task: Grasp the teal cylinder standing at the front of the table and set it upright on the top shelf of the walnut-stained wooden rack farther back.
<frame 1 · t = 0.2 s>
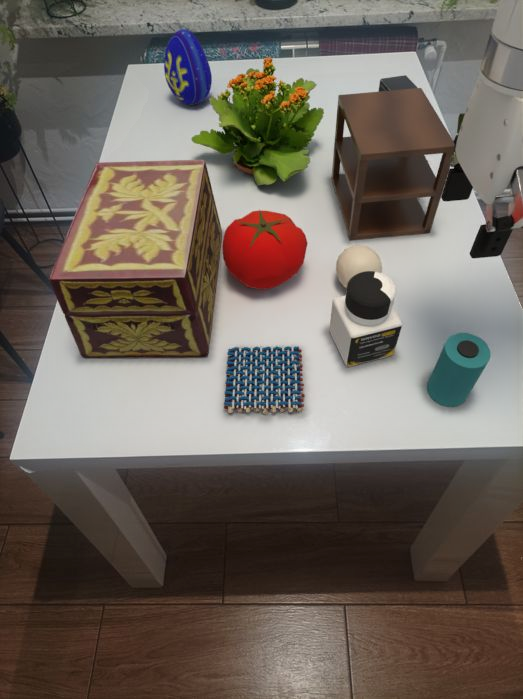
hand: (468, 225, 53), 20 cm above the table, tool pointing down, fingers open, 9 cm apart
medicine bottle: (360, 343, 68), on the table
woven mat: (265, 382, 65), on the table
teal cylinder: (446, 389, 63), on the table
ornament: (193, 102, 113), on the table
box: (391, 137, 100), on the table
potted flower: (256, 160, 97), on the table
rack: (377, 204, 87), on the table
decorative box: (159, 289, 77), on the table
cream round ball: (355, 283, 75), on the table
tomato: (265, 273, 78), on the table
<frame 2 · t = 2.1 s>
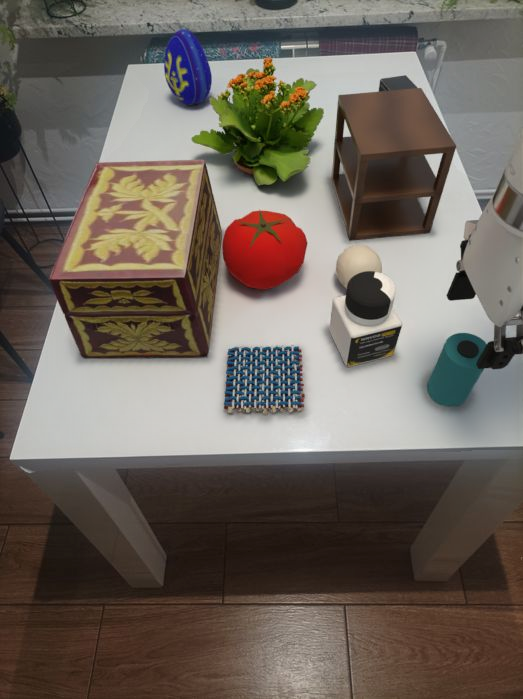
hand: (474, 329, 53), 13 cm above the table, tool pointing down, fingers open, 9 cm apart
nothing on the table moved.
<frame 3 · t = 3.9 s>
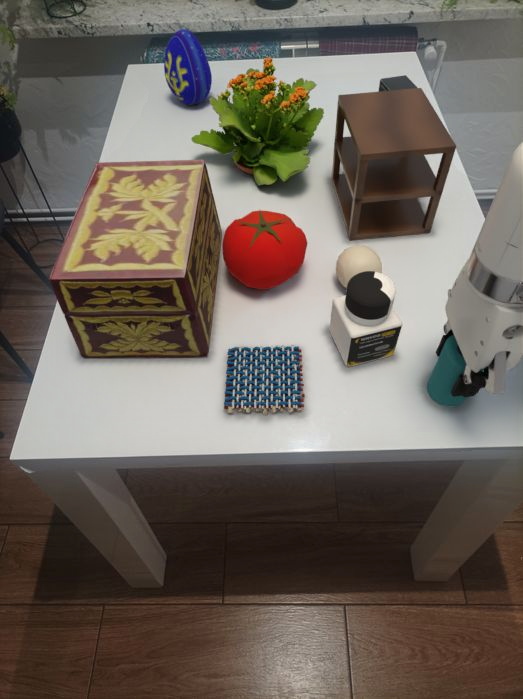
hand: (455, 372, 60), 4 cm above the table, tool pointing down, fingers closed on teal cylinder, 5 cm apart
teal cylinder: (446, 389, 63), on the table, touching gripper
everything else where it was.
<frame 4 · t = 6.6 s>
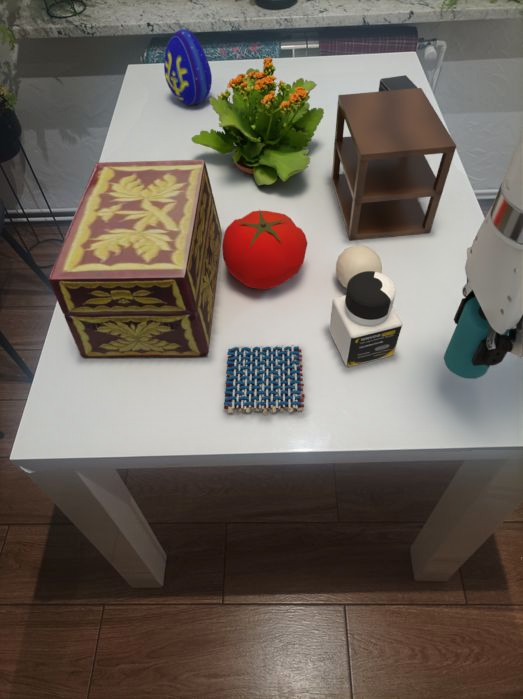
hand: (476, 340, 54), 11 cm above the table, tool pointing down, fingers closed on teal cylinder, 5 cm apart
teal cylinder: (466, 361, 58), point 7 cm above the table, touching gripper
everything else where it was.
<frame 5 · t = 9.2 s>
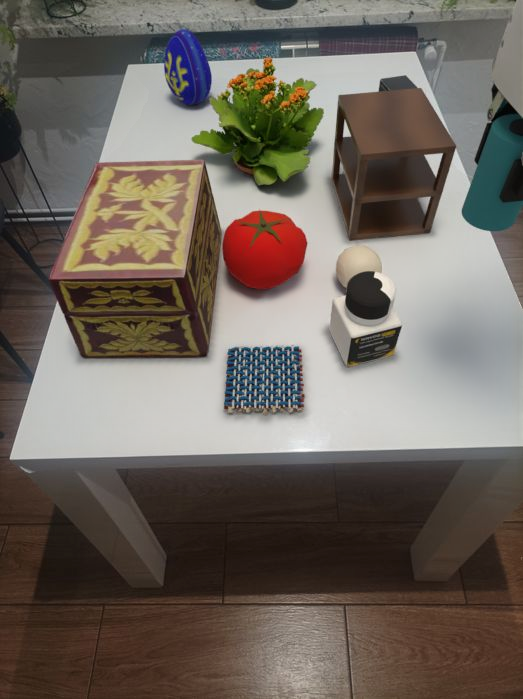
hand: (503, 178, 45), 28 cm above the table, tool pointing down, fingers closed on teal cylinder, 5 cm apart
teal cylinder: (488, 214, 48), point 23 cm above the table, touching gripper
everything else where it was.
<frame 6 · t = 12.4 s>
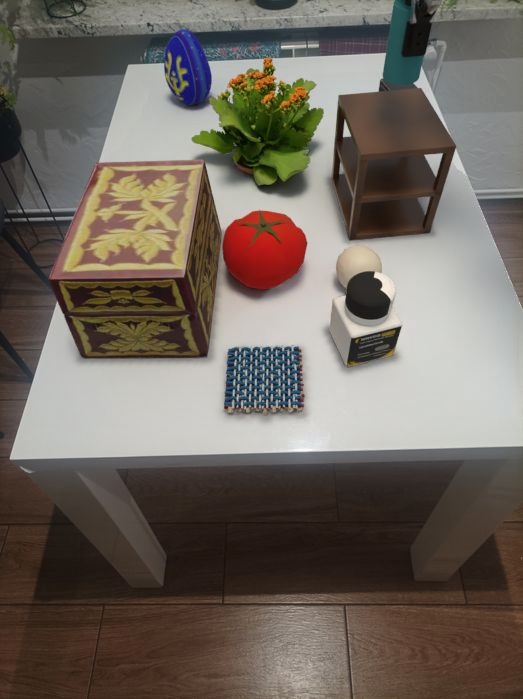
hand: (407, 44, 65), 27 cm above the table, tool pointing down, fingers closed on teal cylinder, 5 cm apart
teal cylinder: (400, 76, 69), point 22 cm above the table, touching gripper
everything else where it was.
when the fingers open (20 cm above the table, at t = 14.7 s): teal cylinder stays where it is, resting on rack.
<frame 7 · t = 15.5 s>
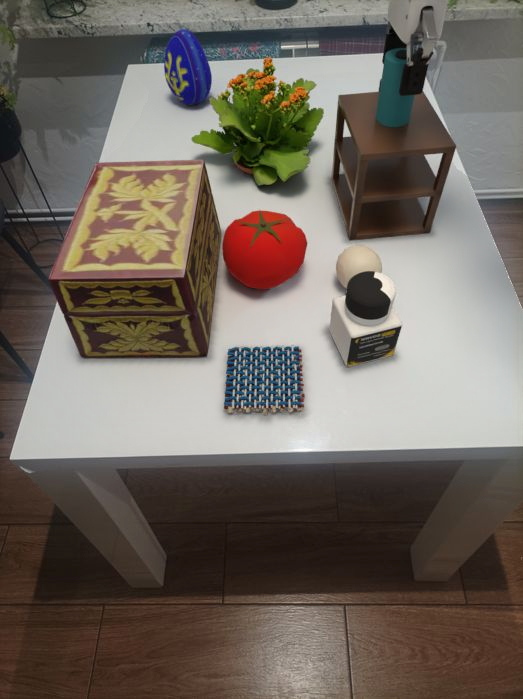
hand: (401, 78, 69), 22 cm above the table, tool pointing down, fingers open, 9 cm apart
teal cylinder: (392, 118, 74), point 16 cm above the table, touching rack
everything else where it was.
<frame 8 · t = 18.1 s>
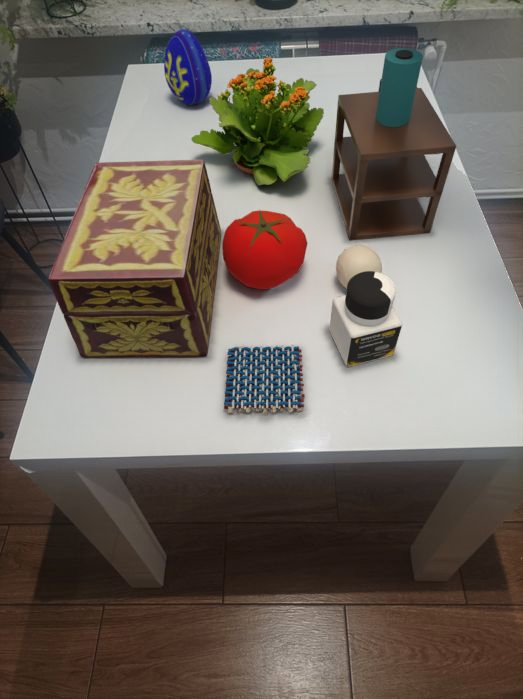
nothing on the table moved.
at the end: teal cylinder inside the target area on the rack (0.1 cm from its centre), point 16.0 cm above the rack's base; teal cylinder tilted 0°; the gripper is holding nothing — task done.
